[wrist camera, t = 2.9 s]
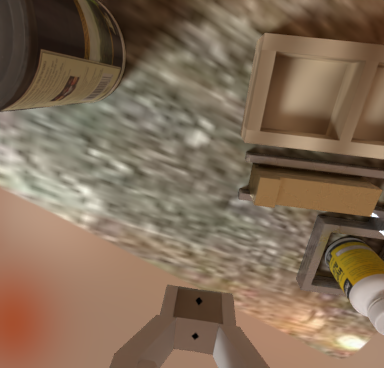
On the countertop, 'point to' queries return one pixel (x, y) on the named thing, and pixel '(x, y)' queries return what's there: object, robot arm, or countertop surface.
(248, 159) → the socket block
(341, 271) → the supplement bottle
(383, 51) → the box
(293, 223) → the countertop surface
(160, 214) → the countertop surface
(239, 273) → the countertop surface
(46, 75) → the coffee can
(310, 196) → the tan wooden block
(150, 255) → the countertop surface
